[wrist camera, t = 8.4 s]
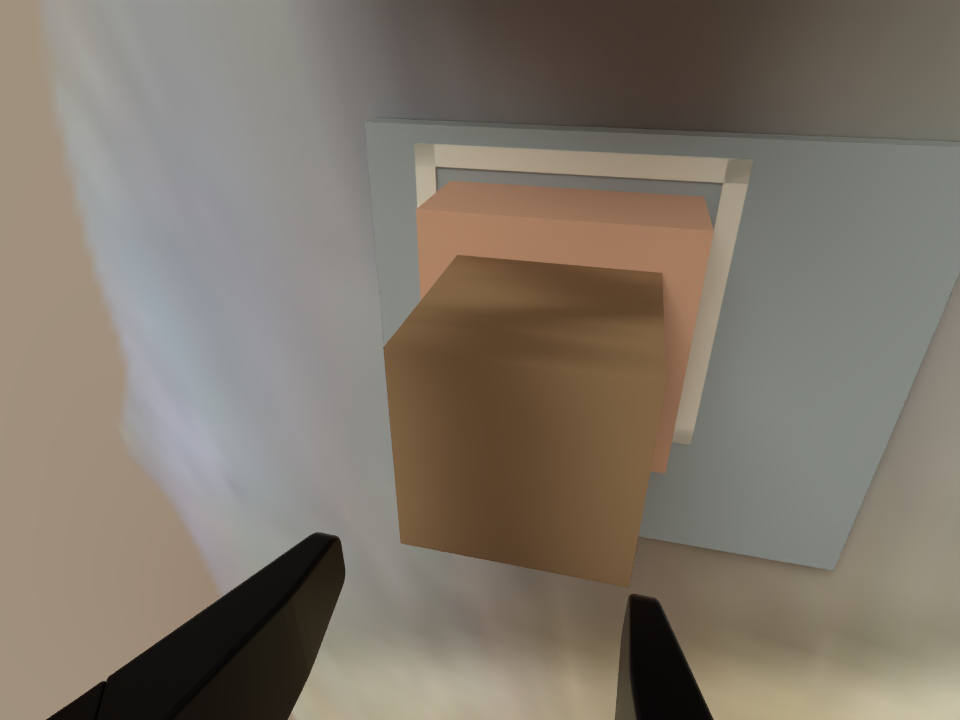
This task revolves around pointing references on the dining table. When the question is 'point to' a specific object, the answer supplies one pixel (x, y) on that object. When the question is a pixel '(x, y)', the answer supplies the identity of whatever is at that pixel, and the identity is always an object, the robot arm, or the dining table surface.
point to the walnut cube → (528, 414)
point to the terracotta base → (582, 250)
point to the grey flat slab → (738, 302)
